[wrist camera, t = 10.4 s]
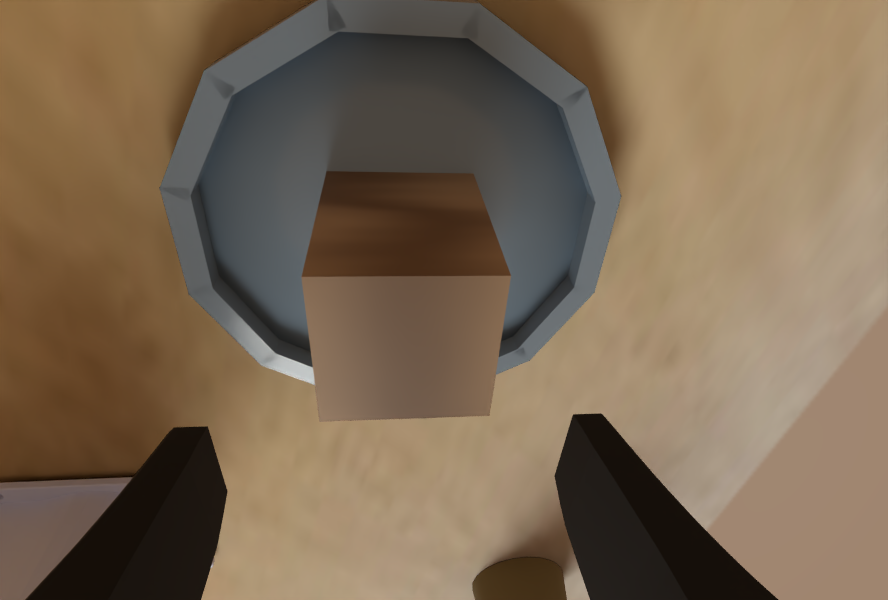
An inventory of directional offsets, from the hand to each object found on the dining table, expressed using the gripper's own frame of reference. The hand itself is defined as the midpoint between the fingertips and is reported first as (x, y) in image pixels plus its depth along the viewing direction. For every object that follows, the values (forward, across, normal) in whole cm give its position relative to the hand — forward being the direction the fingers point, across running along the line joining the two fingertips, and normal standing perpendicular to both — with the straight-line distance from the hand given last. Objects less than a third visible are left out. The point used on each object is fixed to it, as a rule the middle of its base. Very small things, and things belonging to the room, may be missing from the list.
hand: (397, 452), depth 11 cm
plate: (+9, 0, 0) cm, 9 cm away
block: (+9, 0, 0) cm, 9 cm away
